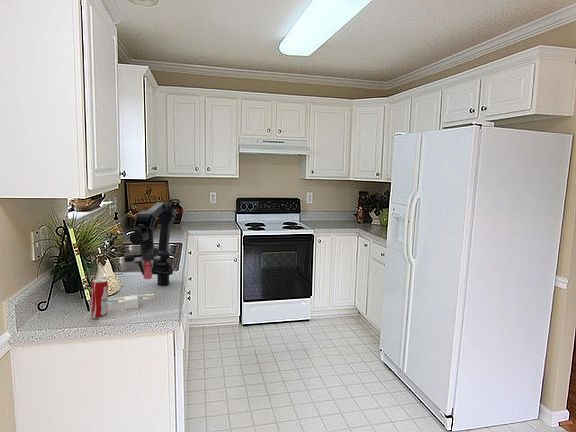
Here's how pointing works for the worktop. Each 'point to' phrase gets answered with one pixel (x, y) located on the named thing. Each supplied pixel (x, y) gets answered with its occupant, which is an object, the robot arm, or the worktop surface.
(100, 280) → the beverage can
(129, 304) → the die
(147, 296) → the board
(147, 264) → the red cylinder
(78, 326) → the worktop surface
